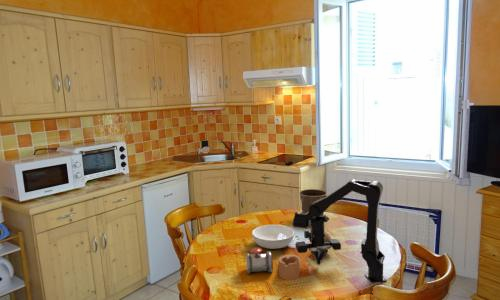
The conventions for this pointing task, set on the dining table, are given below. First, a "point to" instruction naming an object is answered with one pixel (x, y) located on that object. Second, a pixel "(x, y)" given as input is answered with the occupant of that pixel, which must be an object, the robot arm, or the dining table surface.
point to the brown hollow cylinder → (289, 267)
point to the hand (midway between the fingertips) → (318, 264)
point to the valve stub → (259, 261)
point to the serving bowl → (272, 236)
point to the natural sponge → (327, 239)
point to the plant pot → (310, 198)
